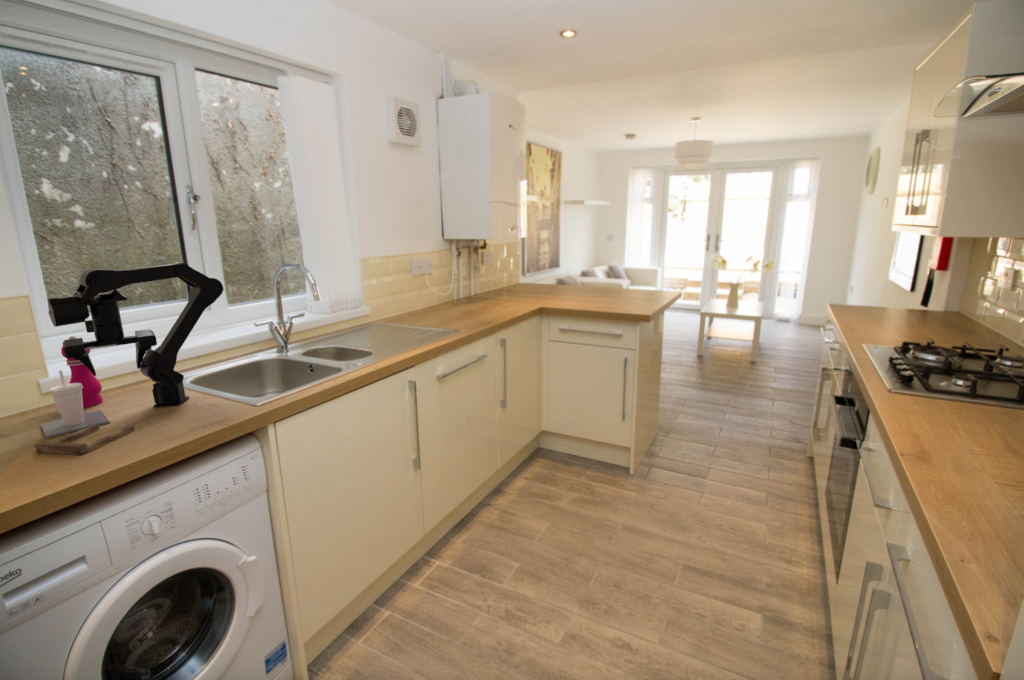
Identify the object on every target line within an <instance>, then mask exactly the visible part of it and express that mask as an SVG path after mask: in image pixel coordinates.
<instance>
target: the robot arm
mask: <svg viewBox="0 0 1024 680" xmlns="http://www.w3.org/2000/svg"><path fill="white" fill-rule="evenodd" d="M175 278H178V279H180V280H181V281H182V282H183V283H185V284H186V285H188V286H189V287H191V288H190V291H189V294H188V300H187V303H186V305H185V306H184V308H183V309H182V311H181V312H180V314H179V316H178V318H177V319H176V321H175V322H174V324H173V325H172V327H171V329H170V330H169V332H168V333H167V335H166V336H165V338H164V340H162V342H161V344H160V345H159V346H158V347H157V348H155V349H152V348H153V347H155V346H157V345H158V343H157V342H158V341H157V337H156V335H155V333H154V331H153V330H152V329H142V330H141V329H140V330H135V331H134V334H135V335H130V336H129V335H128V336H125V333H124V327H123V323H122V316H121V313H120V312H121V311H120V307H119V303H118V302H121V301H127V300H128V297H127V296H126V295H124V294H123V293H121V292H119V290H118V289H121V288H124V287H126V286H130V285H133V284H139V283H147V282H153V281H160V280H161V281H162V280H167V279H175ZM79 283H80V284H79V286H78V287H77V288H76V290H75V292H74V293H73V296H64V297H63V296H62V297H50V298H49V297H48V298H47V300H46V301H47V303H48V305H47V306H48V312H47V313H48V315H49V318H50V322H51V324H52V325H53V326H54V327H56V328H57V327H61V326H68V325H75V324H80V323H81V324H83V323H84V325H85V329H86V333H87V334H89V333H94V338H95V340H92V341H84V339H83V337H77V339H69V338H68V339H64V340H63V341H62V347H63V349H64V353H65V357H66V359H67V358H73V360H80V361H81V362H82V363H83V364H84V365H85V366H86V367H87V368H88V369H89V370H90V372H91V373H92V374H93V375H94V376H95V377H96V376H97V374H96V369H95V366H94V365H93V361H92V359H91V357H90V353H89V354H88V352H87V350H88V349H90V350H93V349H100V348H108V347H116V346H122V345H123V346H124V345H130V344H135V364H136V368H137V369H138V370H140V372H141V374H142V375H143V376H145V377H147V378H149V379H150V380H151V381H152V382H153V384H152V389H151V391H152V396H153V401H154V403H155V404H153V405H152V406H153V408H160V407H161V408H164V407H165V408H166V407H178V406H180V405H181V404H183V403H184V402H186V401H187V400H188V399H190V396H189V395H188V396H186V391H185V386H184V382H183V381H184V377H185V376H184V374H182V373H180V372H178V371H176V370H175V367H176V365H177V358H178V354H179V351H180V350H181V349H182V347H183V345H184V344H185V342H186V340H187V339H188V337H189V335H190V334H191V332H192V331H193V329H194V327H195V326H196V324H197V323H198V321H199V320H200V318H201V316H202V314H203V313H204V311H206V309H207V308H209V307H210V306H211V305H213V304H214V303H215V302H216V301H217V300H218V299H219V298H220V297H221V295H222V294H223V292H224V285H223V283H222V282H221V281H220V280H219V279H217V278H215V277H209V276H207V275H206V274H204V273H201V272H200V271H198V270H196V269H194V268H193V267H191V266H190V265H188V264H187V263H185V262H173V263H168V264H160V265H159V264H158V265H151V266H144V267H143V266H142V267H136V268H127V269H113V268H112V269H111V268H109V269H108V268H90V269H89V268H88V269H86V270H84V271H83V272H82V273H81V275H80V277H79ZM90 316H91V319H90V320H88V319H89V318H90ZM65 357H64V358H65Z"/></svg>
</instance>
